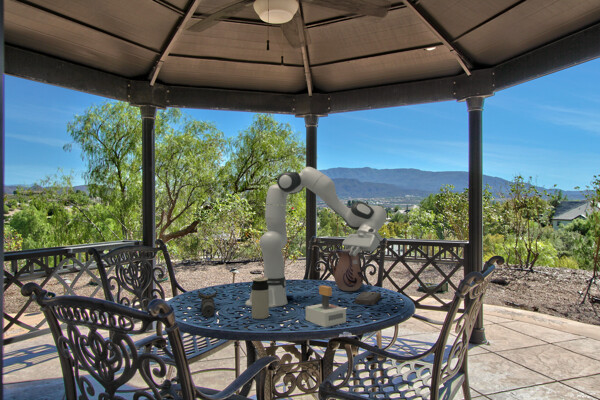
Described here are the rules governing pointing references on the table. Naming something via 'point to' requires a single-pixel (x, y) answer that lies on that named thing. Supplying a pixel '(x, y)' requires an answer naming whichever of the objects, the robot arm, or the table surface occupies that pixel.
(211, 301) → the laser sight
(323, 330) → the table surface
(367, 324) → the table surface
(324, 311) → the block
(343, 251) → the ceramic pitcher
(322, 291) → the lever
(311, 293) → the table surface
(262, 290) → the travel mug
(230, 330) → the table surface
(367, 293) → the box
